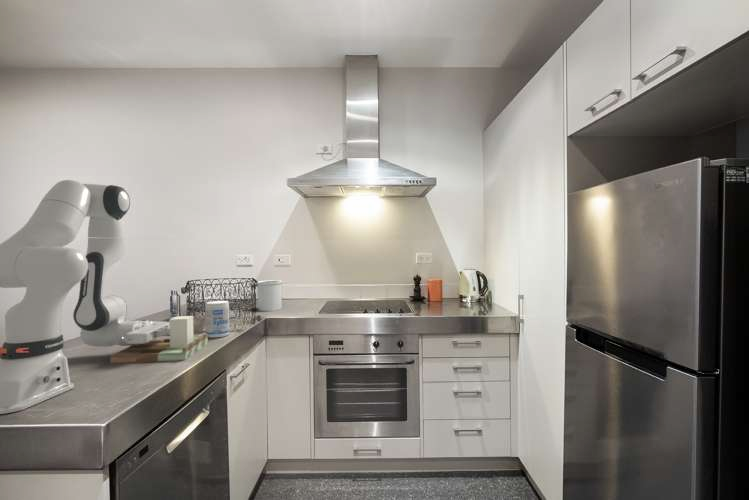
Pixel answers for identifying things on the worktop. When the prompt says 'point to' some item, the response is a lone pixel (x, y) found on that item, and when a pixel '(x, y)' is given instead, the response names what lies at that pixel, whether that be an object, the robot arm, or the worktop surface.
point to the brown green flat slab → (158, 351)
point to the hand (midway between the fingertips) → (173, 331)
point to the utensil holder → (269, 295)
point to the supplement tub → (217, 318)
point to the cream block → (181, 331)
